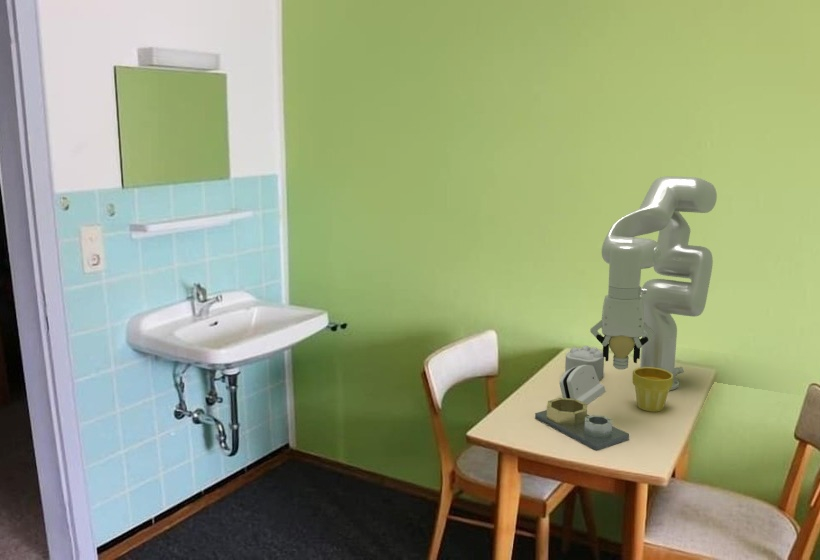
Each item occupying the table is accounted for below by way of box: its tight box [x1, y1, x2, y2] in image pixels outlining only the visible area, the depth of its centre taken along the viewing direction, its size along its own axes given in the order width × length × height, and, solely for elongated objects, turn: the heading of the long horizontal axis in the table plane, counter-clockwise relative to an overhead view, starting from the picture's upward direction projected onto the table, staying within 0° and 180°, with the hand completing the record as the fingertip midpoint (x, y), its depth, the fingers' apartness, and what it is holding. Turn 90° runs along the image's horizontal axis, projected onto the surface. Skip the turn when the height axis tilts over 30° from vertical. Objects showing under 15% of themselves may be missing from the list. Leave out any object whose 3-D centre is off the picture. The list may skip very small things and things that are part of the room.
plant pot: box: [632, 367, 673, 413], centre depth 189 cm, size 10×10×10 cm
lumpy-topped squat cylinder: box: [564, 345, 605, 382], centre depth 214 cm, size 10×13×9 cm
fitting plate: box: [534, 397, 630, 451], centre depth 177 cm, size 11×22×4 cm, turn 31°
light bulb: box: [608, 335, 635, 370], centre depth 177 cm, size 6×6×10 cm
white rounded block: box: [559, 365, 607, 406], centre depth 197 cm, size 17×5×10 cm, turn 141°
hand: (620, 359), depth 178 cm, fingers closed on light bulb, 6 cm apart
